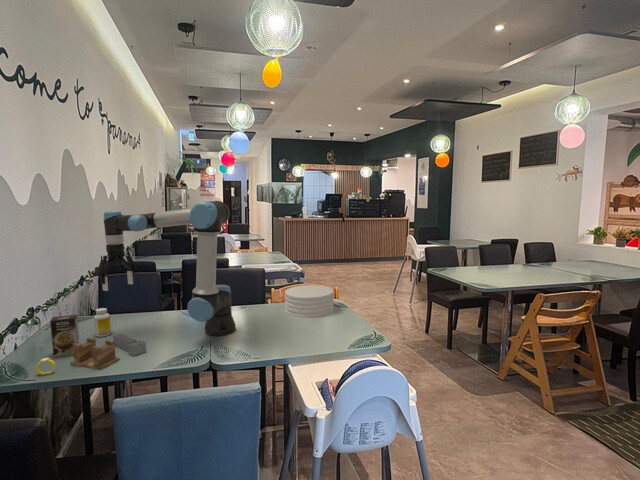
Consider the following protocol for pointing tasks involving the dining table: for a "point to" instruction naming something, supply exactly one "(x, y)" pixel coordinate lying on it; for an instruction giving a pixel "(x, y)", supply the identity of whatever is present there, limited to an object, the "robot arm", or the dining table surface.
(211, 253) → the robot arm
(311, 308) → the plate stack
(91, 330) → the dining table surface
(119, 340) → the grey t-shaped block
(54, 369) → the watch
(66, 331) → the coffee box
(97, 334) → the supplement bottle
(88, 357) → the cradle rack
